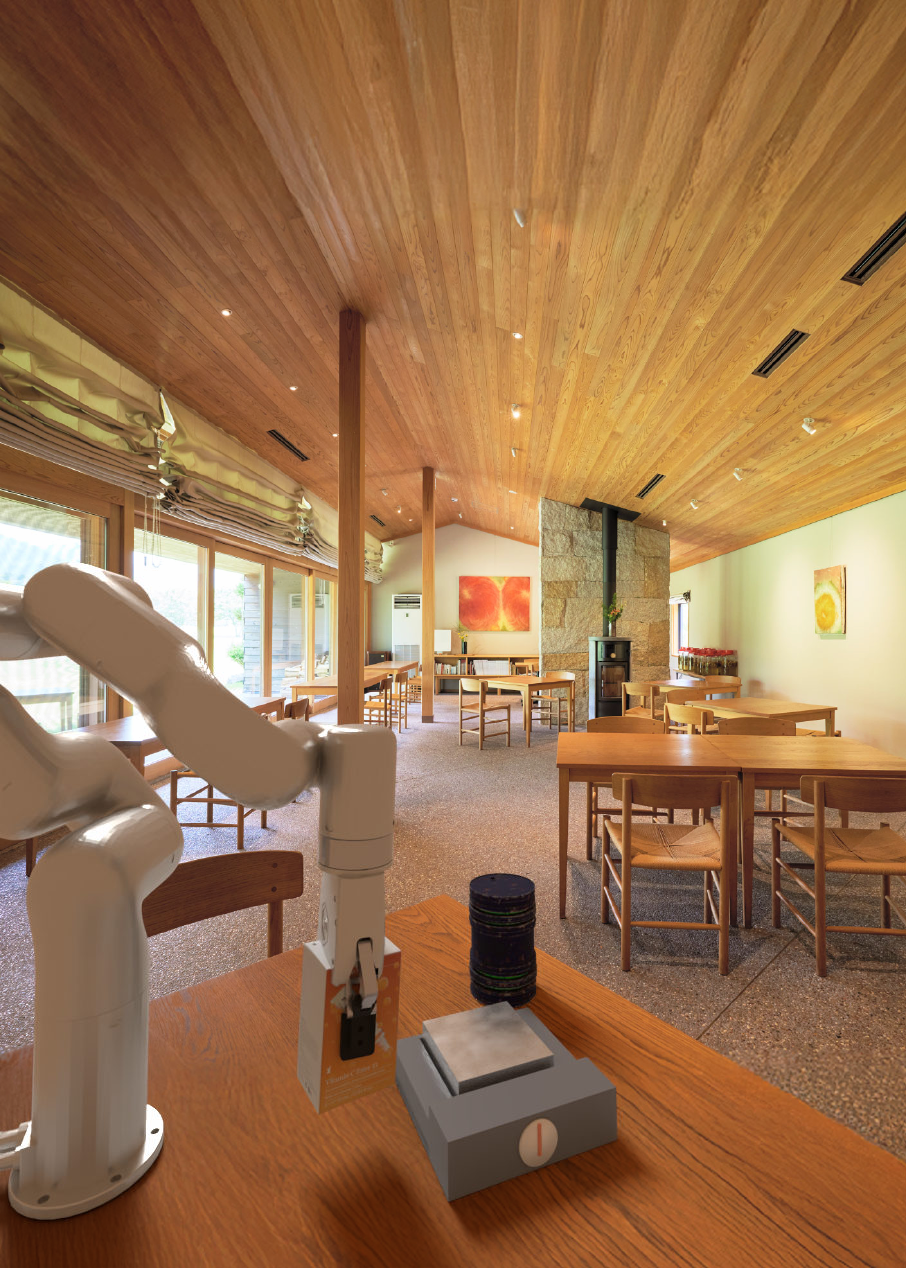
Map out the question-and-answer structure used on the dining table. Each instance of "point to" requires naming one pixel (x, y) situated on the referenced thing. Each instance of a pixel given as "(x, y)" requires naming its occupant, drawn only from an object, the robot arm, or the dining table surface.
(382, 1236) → the dining table surface
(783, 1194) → the dining table surface
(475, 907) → the navy cylindrical canister
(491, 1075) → the pan
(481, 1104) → the scale
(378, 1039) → the small box
